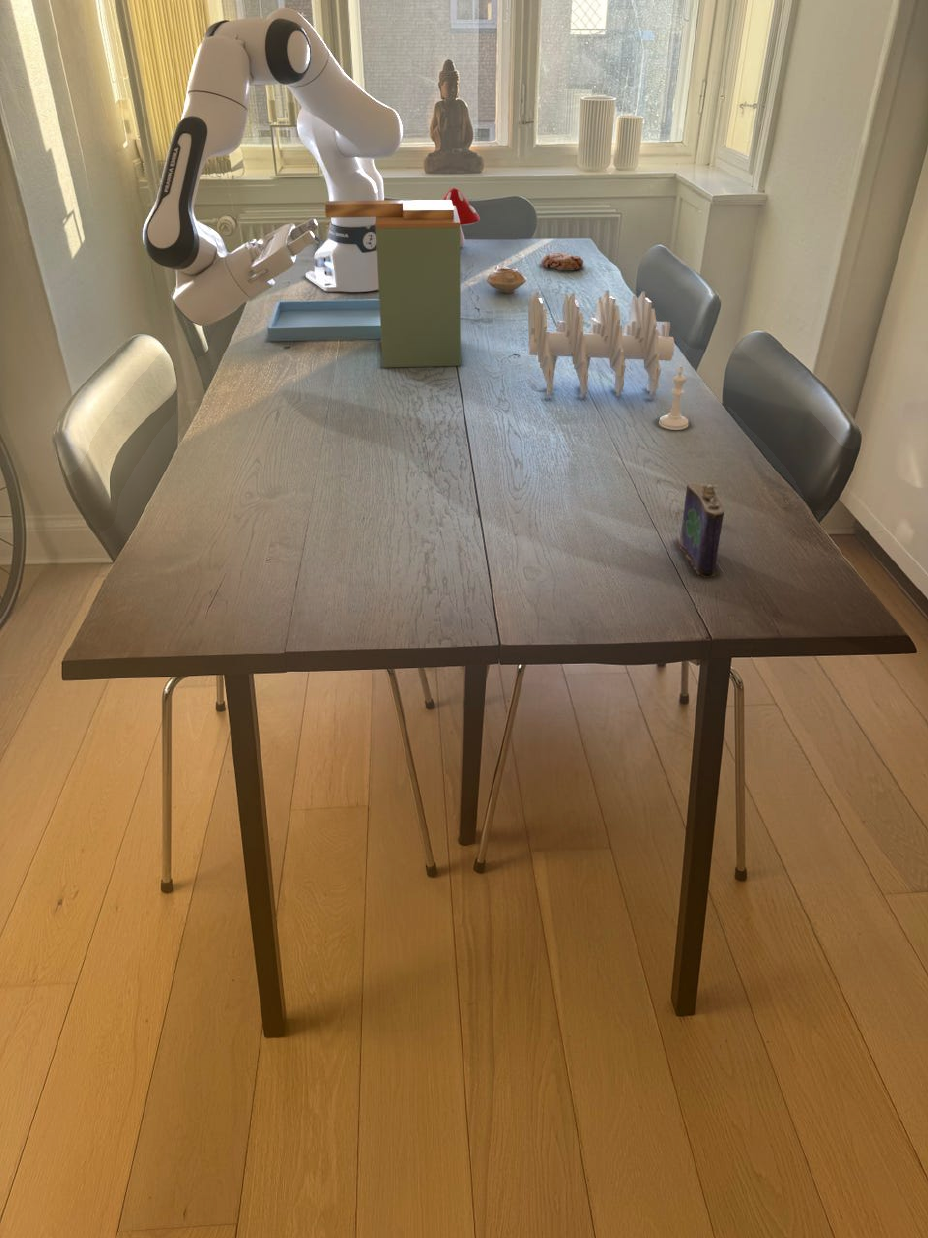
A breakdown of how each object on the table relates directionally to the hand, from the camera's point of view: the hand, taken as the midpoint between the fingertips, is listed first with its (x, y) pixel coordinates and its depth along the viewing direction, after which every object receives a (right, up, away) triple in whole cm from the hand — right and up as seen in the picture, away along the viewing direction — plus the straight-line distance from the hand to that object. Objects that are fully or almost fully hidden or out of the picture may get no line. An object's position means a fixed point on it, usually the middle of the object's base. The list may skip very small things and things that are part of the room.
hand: (314, 228), depth 173 cm
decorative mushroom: (+25, +29, +84) cm, 93 cm away
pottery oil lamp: (+37, +7, +52) cm, 64 cm away
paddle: (+14, +2, -1) cm, 14 cm away
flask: (+58, -64, -49) cm, 99 cm away
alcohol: (+2, +25, +78) cm, 82 cm away
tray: (+3, -9, +29) cm, 31 cm away
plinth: (+19, -19, +15) cm, 30 cm away
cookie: (+52, +18, +68) cm, 88 cm away
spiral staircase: (+51, -31, -2) cm, 60 cm away
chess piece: (+63, -39, -14) cm, 75 cm away
